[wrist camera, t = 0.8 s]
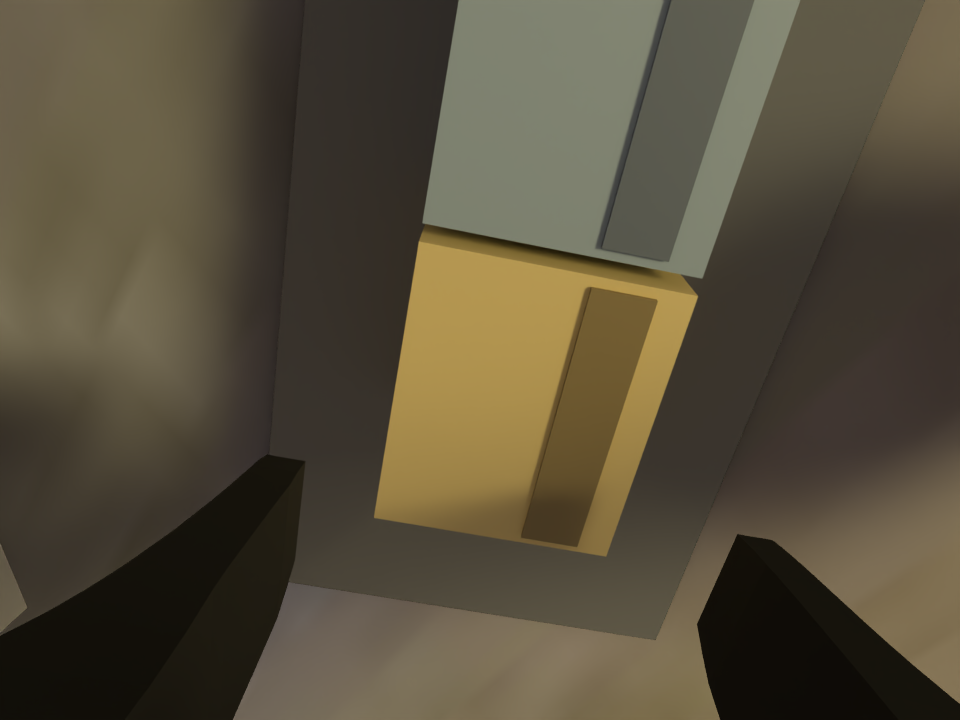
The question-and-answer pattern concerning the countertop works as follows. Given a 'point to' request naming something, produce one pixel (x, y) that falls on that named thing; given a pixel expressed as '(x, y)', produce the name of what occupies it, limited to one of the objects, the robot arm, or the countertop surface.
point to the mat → (388, 280)
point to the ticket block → (602, 122)
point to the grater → (9, 594)
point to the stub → (526, 389)
